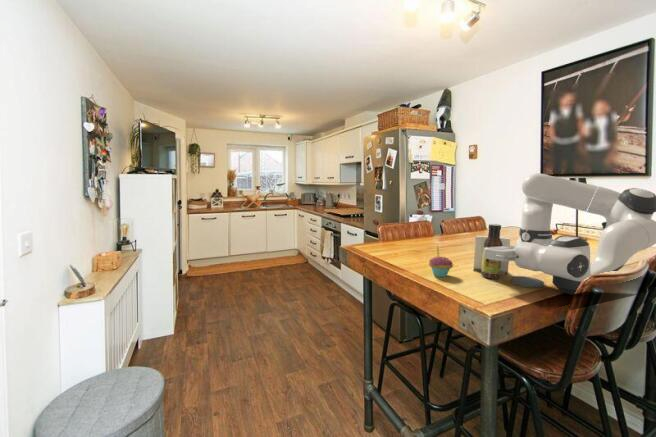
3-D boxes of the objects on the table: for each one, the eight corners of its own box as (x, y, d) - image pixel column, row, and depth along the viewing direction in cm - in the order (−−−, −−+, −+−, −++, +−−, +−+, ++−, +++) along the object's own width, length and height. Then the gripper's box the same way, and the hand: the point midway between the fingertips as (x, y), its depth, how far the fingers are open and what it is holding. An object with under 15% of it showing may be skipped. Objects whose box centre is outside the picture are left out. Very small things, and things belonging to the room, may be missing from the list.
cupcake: (439, 279, 117) (440, 247, 115) (423, 273, 125) (424, 243, 123) (456, 276, 120) (458, 245, 119) (440, 270, 128) (442, 241, 127)
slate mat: (523, 277, 120) (523, 274, 120) (550, 285, 111) (550, 283, 110) (504, 280, 116) (504, 277, 116) (530, 289, 107) (531, 286, 107)
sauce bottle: (484, 279, 118) (487, 225, 115) (479, 274, 124) (481, 223, 121) (502, 280, 117) (506, 225, 114) (496, 274, 123) (500, 223, 120)
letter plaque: (473, 271, 128) (475, 236, 126) (473, 268, 132) (475, 234, 130) (507, 275, 123) (510, 239, 121) (506, 272, 127) (509, 237, 125)
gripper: (504, 268, 103) (470, 259, 115) (547, 262, 111) (510, 254, 123) (506, 248, 102) (471, 241, 115) (548, 244, 110) (511, 238, 123)
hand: (492, 248), depth 119 cm, fingers closed on sauce bottle, 6 cm apart
